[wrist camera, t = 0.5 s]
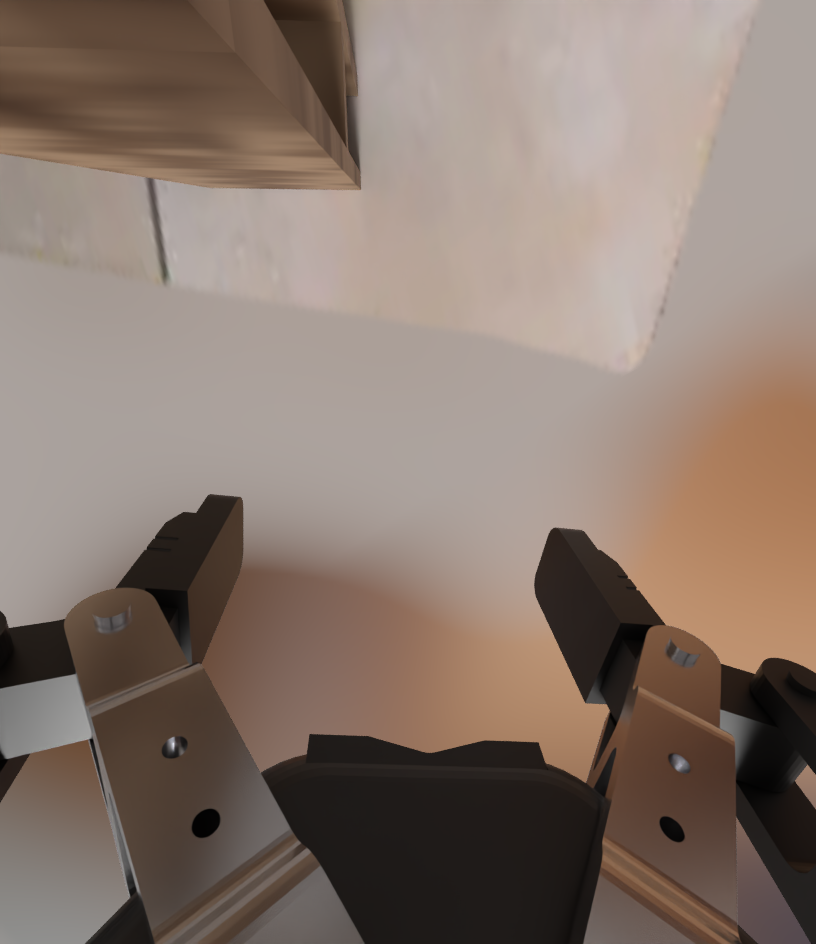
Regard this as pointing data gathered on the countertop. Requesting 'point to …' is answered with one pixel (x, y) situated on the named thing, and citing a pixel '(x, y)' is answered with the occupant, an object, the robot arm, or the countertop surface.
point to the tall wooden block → (182, 89)
